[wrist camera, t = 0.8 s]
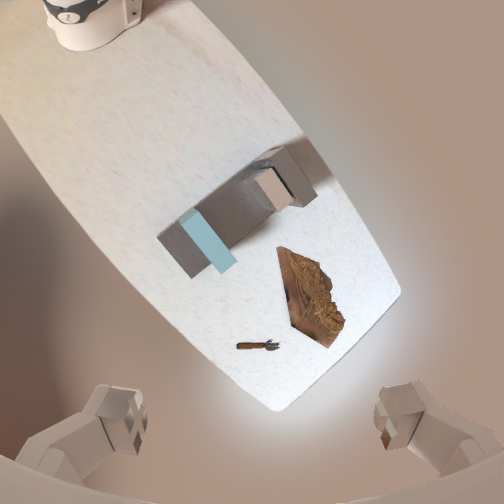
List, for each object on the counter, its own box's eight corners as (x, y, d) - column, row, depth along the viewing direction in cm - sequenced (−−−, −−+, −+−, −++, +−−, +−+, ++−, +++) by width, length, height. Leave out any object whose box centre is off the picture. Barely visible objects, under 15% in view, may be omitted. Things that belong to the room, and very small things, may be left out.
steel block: (264, 209, 54) (278, 212, 47) (243, 180, 52) (255, 179, 45) (277, 198, 54) (293, 200, 47) (257, 169, 52) (271, 167, 45)
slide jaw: (212, 262, 53) (221, 274, 45) (178, 219, 50) (181, 225, 42) (226, 250, 53) (237, 261, 46) (193, 207, 50) (198, 211, 43)
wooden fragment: (349, 332, 67) (351, 334, 66) (307, 359, 65) (309, 362, 64) (307, 229, 59) (310, 229, 58) (257, 257, 58) (258, 258, 57)
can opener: (235, 347, 60) (236, 350, 59) (237, 336, 59) (239, 339, 58) (278, 350, 63) (280, 352, 61) (280, 340, 62) (283, 342, 61)
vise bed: (190, 275, 54) (196, 294, 45) (157, 235, 51) (155, 246, 42) (296, 190, 57) (322, 192, 47) (268, 149, 54) (290, 142, 44)
